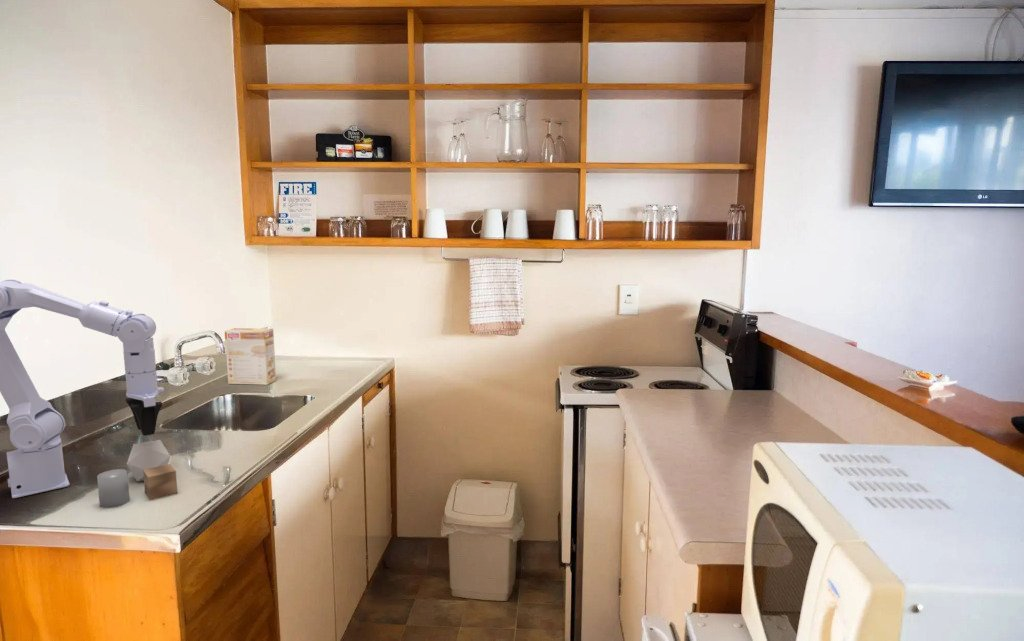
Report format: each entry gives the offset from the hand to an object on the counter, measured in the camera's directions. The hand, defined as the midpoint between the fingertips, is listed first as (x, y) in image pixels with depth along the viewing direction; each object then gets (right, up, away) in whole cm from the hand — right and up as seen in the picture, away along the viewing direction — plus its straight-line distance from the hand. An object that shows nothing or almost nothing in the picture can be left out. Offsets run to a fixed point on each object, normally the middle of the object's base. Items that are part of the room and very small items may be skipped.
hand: (146, 431), depth 132 cm
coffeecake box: (-14, +2, +87) cm, 88 cm away
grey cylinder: (+1, -12, -11) cm, 17 cm away
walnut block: (+7, -12, -7) cm, 15 cm away
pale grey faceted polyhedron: (0, -11, +1) cm, 11 cm away
